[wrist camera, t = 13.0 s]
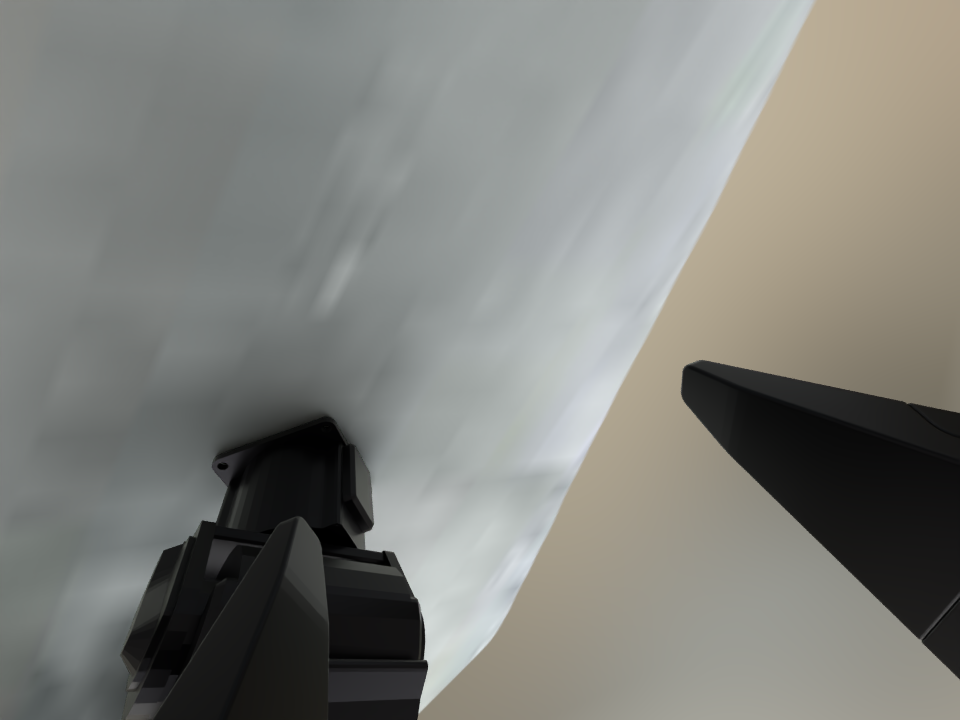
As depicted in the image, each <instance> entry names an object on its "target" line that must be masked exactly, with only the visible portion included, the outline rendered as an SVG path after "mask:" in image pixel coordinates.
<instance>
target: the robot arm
mask: <svg viewBox="0 0 960 720" xmlns="http://www.w3.org/2000/svg"><path fill="white" fill-rule="evenodd" d="M681 395H682V398H683V400H684V402H685V403H686V405H687V406H688V407H689V408H690V409H691V410H692V412H693V413H694V414H695V415H696V416H697V418H698V419H699V420H700V421H701V422H702V424H703V425H704V426H705V427H706V428H707V429H708V431H709V432H710V433H711V434H712V435H713V437H714V438H715V439H716V440H717V441H718V443H719V444H720V445H721V446H722V447H723V448H724V449H725V450H726V452H727V453H728V454H730V456H731V457H733V459H734V460H735V461H736V462H737V463H738V464H739V465H740V466H741V467H743V468H744V470H746V471H747V472H748V473H749V474H750V475H751V476H752V477H753V478H754V479H755V480H756V481H757V482H758V483H759V484H760V485H761V486H762V487H763V488H764V489H765V490H766V491H767V492H768V493H769V494H770V495H771V496H772V497H773V498H774V499H775V500H776V501H777V502H778V503H780V504H781V506H783V507H784V508H785V509H786V510H787V511H788V512H789V513H790V514H791V515H792V516H793V517H794V518H795V519H796V520H797V521H798V522H799V523H800V524H801V525H802V526H803V527H804V528H805V529H806V530H807V531H808V532H809V533H810V534H811V535H812V536H813V537H814V538H815V539H816V540H818V542H819V543H821V544H822V545H823V546H824V547H825V548H826V549H827V550H828V551H829V552H830V553H831V554H832V555H833V556H834V557H835V558H836V559H837V560H838V561H839V562H840V563H841V564H842V565H843V566H844V567H845V568H846V569H847V570H848V571H849V572H850V573H852V575H853V576H854V577H856V579H858V580H859V581H860V582H861V583H862V584H863V585H864V586H865V587H866V588H867V589H868V590H869V591H870V592H871V593H872V594H873V595H874V596H875V597H876V598H877V599H878V600H879V601H880V602H881V603H882V604H883V605H884V606H885V607H886V608H887V609H888V610H890V612H892V614H893V615H895V616H896V617H897V618H898V619H899V620H900V621H901V622H902V623H903V624H904V625H905V626H906V627H907V628H908V629H909V630H910V631H911V632H912V633H913V634H914V635H915V636H916V637H917V638H918V639H920V640H922V643H923V644H924V645H925V646H926V647H927V648H928V649H929V650H930V651H931V652H932V653H933V654H934V655H935V656H936V657H937V658H938V659H939V660H940V661H941V662H942V663H943V664H945V665H946V666H947V667H948V668H949V669H950V670H951V671H952V672H953V673H954V674H955V675H956V676H957V677H958V678H959V679H960V413H957V412H951V411H947V410H941V409H936V408H932V407H927V406H922V405H918V404H913V403H909V404H906V403H905V402H903V401H898V400H893V399H888V398H884V397H878V396H874V395H868V394H864V393H859V392H855V391H850V390H845V389H840V388H835V387H831V386H826V385H821V384H815V383H811V382H806V381H802V380H797V379H792V378H787V377H782V376H777V375H772V374H767V373H763V372H758V371H753V370H749V369H744V368H739V367H734V366H729V365H724V364H720V363H714V362H710V361H705V360H699V361H696V362H693V363H691V364H688V365H686V366H685V367H684V369H683V374H682V386H681ZM324 425H328V426H330V427H329V428H323V426H324ZM221 463H227V465H223V464H221ZM212 468H213V470H214V471H215V473H216V474H217V475H218V476H219V477H220V478H221V480H222V481H223V482H224V483H225V484H226V485H227V487H228V488H227V491H226V494H225V497H224V500H223V503H222V506H221V509H220V512H219V515H218V518H217V521H216V523H214V522H208V521H201V523H200V525H199V527H198V529H197V530H196V532H195V534H194V536H193V537H192V536H189V538H188V539H187V541H186V542H185V541H184V543H183V544H181V545H178V546H175V547H172V548H169V549H166V550H164V551H163V553H162V555H161V557H160V559H159V561H158V563H157V565H156V567H155V570H154V572H153V574H152V576H151V579H150V581H149V583H148V585H147V588H146V590H145V592H144V595H143V597H142V599H141V602H140V604H139V606H138V609H137V611H136V614H135V616H134V619H133V622H132V625H131V627H130V630H129V633H128V635H127V638H126V641H125V643H124V646H123V649H122V651H121V654H120V656H121V658H122V660H123V661H124V663H125V665H126V667H127V669H128V671H129V673H130V675H129V678H128V682H127V687H126V692H128V693H127V698H126V702H125V706H124V711H123V715H122V720H417V718H418V712H419V704H420V698H421V694H422V690H423V686H424V682H425V678H426V675H427V670H428V663H427V661H426V660H423V659H424V651H425V627H424V621H423V616H422V613H421V608H420V604H419V602H418V599H417V598H415V597H414V595H413V593H412V590H411V588H410V586H409V584H408V582H407V580H406V577H405V575H404V573H403V571H402V569H401V567H400V564H399V562H398V560H397V558H396V556H395V554H394V552H389V551H382V552H376V551H370V550H365V534H364V533H365V532H367V531H370V530H371V529H372V527H373V525H374V518H373V505H372V487H371V480H370V472H369V470H368V469H367V467H366V465H365V463H364V461H363V459H362V458H361V456H360V454H359V452H358V450H357V448H356V446H355V445H352V444H348V443H347V441H346V440H345V438H344V436H343V434H342V432H341V430H340V429H339V427H338V425H337V423H336V421H335V420H334V419H332V418H330V417H324V418H321V419H318V420H315V421H312V422H310V423H307V424H304V425H301V426H298V427H296V428H293V429H290V430H287V431H284V432H282V433H279V434H276V435H273V436H270V437H268V438H265V439H262V440H259V441H256V442H254V443H251V444H248V445H245V446H242V447H239V448H237V449H234V450H231V451H228V452H225V453H223V454H220V455H218V456H216V457H215V459H214V461H213V463H212Z"/></svg>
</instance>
